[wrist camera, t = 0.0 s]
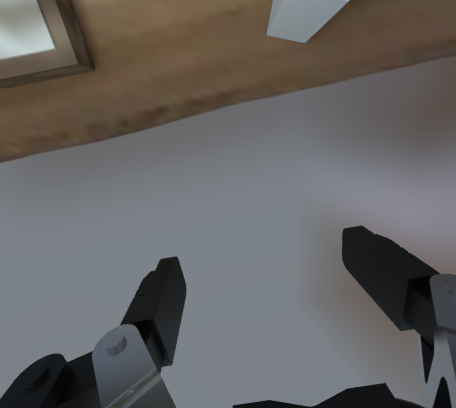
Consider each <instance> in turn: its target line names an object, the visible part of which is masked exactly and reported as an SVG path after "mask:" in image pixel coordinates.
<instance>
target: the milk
mask: <svg viewBox="0 0 456 408" xmlns="http://www.w3.org/2000/svg"><path fill="white" fill-rule="evenodd" d="M349 1H350V0H273V2H272V8H271V13H270V18H269V24H268V29H267V35H268V36H272V37H277V38H282V39H286V40H291V41H296V42H301V43H306V42H307V41H308V40H309V39H310V38H311V37H312V36H313V35H314V34H315V33H316V32H317V31H318V30H319V29H320V28H321V27H322V26H323V25H324V24H325V23H327V22H328V21H329V20H330V19H331V18H332V17H333V16H334V15H335V14H336V13H337V12H338V11H339V10H340V9H341V8H342V7H343V6H344V5H345V4H346V3H348V2H349Z"/></svg>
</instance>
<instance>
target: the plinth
mask: <svg viewBox="0 0 456 408" xmlns="http://www.w3.org/2000/svg"><path fill="white" fill-rule="evenodd" d="M91 71H94V68H93V65H92V62H91V59H90V56H89V53H88V50H87V47H86V44H85V42H84V39H83V36H82V33H81V30H80V27H79V24H78V21H77V18H76V15H75V12H74V9H73V6H72V3H71V1H70V0H0V87H2V88H9V87H14V86H19V85H25V84H30V83H35V82H40V81H45V80H50V79H55V78H60V77H65V76H70V75H75V74H80V73H86V72H91Z"/></svg>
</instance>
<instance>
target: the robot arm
mask: <svg viewBox="0 0 456 408" xmlns="http://www.w3.org/2000/svg"><path fill="white" fill-rule="evenodd" d="M342 259H343V263H344V265H345V267H346V268H347V270H348V271H349V272H350V274H351V275H352V276H353V277H354V278H355V279H356V281H357V282H358V283H359V284H360V285H361V286H362V287H363V289H364V290H365V291H366V292H367V293H368V294H369V295H370V296H371V298H372V299H373V300H374V301H375V302H376V303H377V305H378V306H379V307H380V308H381V309H382V310H383V311H384V313H385V314H386V315H387V316H388V317H389V318H390V320H391V321H392V322H393V323H394V324H395V325H396V326H397V328H398V329H399V330H400V331H404V330H411V329H415V330H416V331H417V332H418V333H419V337H418V348H419V359H420V371H421V382H422V406H420V405H417V404H415V403H412V402H409V401H406V400H402V399H398V398H395V397H394V396H393V394H392V393H391V391H390V390H389V388H388V386H387V385H386V383H383V384H375V385H369V386H362V387H355V388H349V389H346V390H344V391H342V392H340V393H338V394H336V395H335V396H333V397H331V398H329V399H327V400H325V401H324V402H321V403H320V404H318V405H316V406H312V407H307V406H302V405H295V404H290V403H284V402H278V401H272V400H267V401H260V402H253V403H247V404H240V405H234V406H233V408H456V275H454V274H440V273H439V272H437V271H436V270H434V269H433V268H432V267H430V266H428V265H427V264H426V263H424V262H423V261H421V260H420V259H418V258H417V257H415V256H414V255H412V254H411V253H408V251H406V250H405V249H404V248H402V247H400V246H399V245H398V244H396V243H395V242H393V241H392V240H390V239H388V238H386V237H383V236H380V235H378V234H373V233H372V232H371V231H369V230H368V229H366V228H365V227H364V226H356V227H350V228H345V229H344V230H343V234H342ZM185 298H186V283H185V279H184V276H183V273H182V269H181V266H180V263H179V260H178V258H177V257H170V258H164V259H161V260H160V261H159V263H158V266H157V268H156V270H155V271H151V272H150V273H149V274H148V275H147V276H146V277H145V278H144V279H143V280H142V282H141V284H140V286H139V289H138V290H137V292H136V294H135V298H133V300H132V302H131V304H130V306H129V308H128V310H127V312H126V315H125V316H124V318H123V320H122V322H121V324H120V326H118V327H116V328H114V329H112V330H111V331H109V332H108V333H107V334H105V335H104V336H103V337H102V338H101V339H100V340H99V342H98V343H97V345H96V346H95V348H94V350H93V351H92V352H90V353H87V354H85V355H83V356H81V357H78V358H76V359H74V360H71V361H69V362H67V361H66V360H65V358H64V357H63V355H61V354H51V355H47V356H45V357H43V358H41V359H39V360H37V361H36V362H34V363H33V364H32V365H30V366H29V367H28V368H26V369H25V370H24V371H23V372H22V373H21V374H20V375H19V376H18V377H17V378H16V379H15V380H14V382H13V383H12V384H11V386H10V387H9V388H8V390H7V391H6V392H5V394H4V395H3V396H2V397H1V399H0V408H176V406H175V404H174V402H173V400H172V398H171V396H170V394H169V392H168V390H167V388H166V385H165V383H164V381H163V379H162V377H161V375H160V372H161V368H162V367H164V366H170V365H172V363H173V358H174V353H175V348H176V343H177V338H178V333H179V328H180V323H181V318H182V313H183V308H184V303H185Z"/></svg>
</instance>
